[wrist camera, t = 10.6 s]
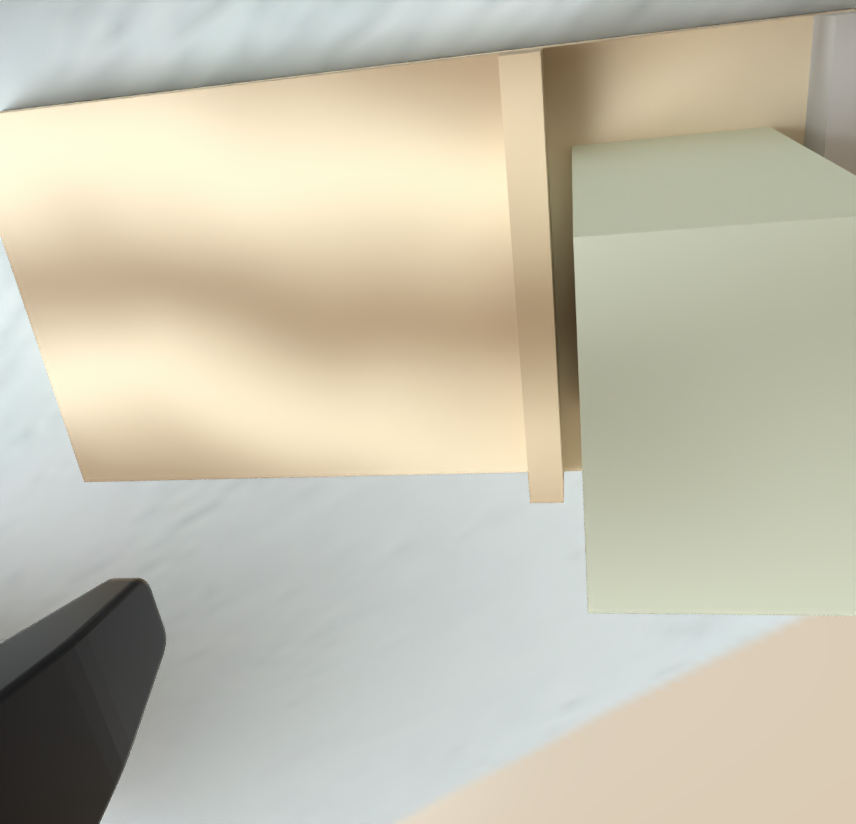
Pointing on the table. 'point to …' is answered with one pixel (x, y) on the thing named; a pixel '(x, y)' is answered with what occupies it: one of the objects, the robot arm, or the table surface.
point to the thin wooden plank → (362, 248)
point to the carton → (716, 375)
